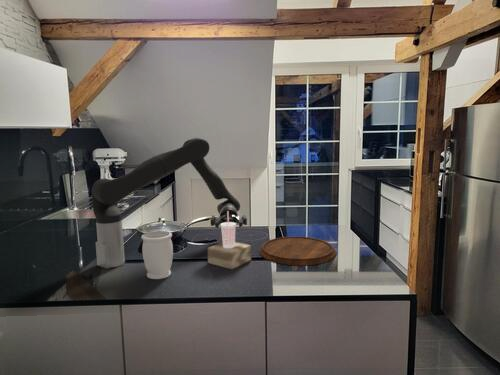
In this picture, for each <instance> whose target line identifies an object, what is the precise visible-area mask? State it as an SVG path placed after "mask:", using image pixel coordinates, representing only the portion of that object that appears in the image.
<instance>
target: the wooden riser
mask: <svg viewBox="0 0 500 375" xmlns="http://www.w3.org/2000/svg"><path fill="white" fill-rule="evenodd" d="M250 261H252V245H251V244H247V243H242V242H238V241H237V242H236V241H235V247H233V248H224V247H223V241H222V242H219V243H216V244H215V245H212V246H208V247H207V263H208V264H211V265H215V266H217V267H218V266H219V267H221V268H222V267H223V268H226V269H230V270H234V269H235V268H238V267H240V266H242V265H243V264H246V263H247V262H248V263H249V262H250Z"/></svg>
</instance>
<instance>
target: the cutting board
mask: <svg viewBox="0 0 500 375" xmlns="http://www.w3.org/2000/svg"><path fill="white" fill-rule="evenodd" d="M258 253H259V255H260V256H261V258H263V259H265V260H267V261H270V262H272V263H276V264H280V265H286V266H287V265H288V266H313V265H316V266H317V265H320V264H325V263H327V262H330V261H333V260H334V259H335V258H336V257H337V249H335V247H334V246H333V245H332V244H331V243H330V242H327V241H326V240H322V239H320V238H315V237H307V236H281V237H276V238H273V239H269V240H267V241H265V242H263V244H262V245H261V246H260V247H259V250H258Z"/></svg>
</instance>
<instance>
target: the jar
mask: <svg viewBox="0 0 500 375" xmlns="http://www.w3.org/2000/svg"><path fill="white" fill-rule="evenodd" d="M172 237H173V233H172V232H171V231H167V230H156V231H155V230H154V231H150V232H145V233H143V234H142V235H141V240H142V241H143V242H142V248H141V249H142V258H143V261H144V262H143V263H144V267H145V269H146V271H147V273H146V277H147V278H148V279H152V280H162V279H165V278H167V277H170V276H171V274H172V271H171V267H172V264H173V258H174V247H173V241H172Z"/></svg>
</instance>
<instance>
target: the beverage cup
mask: <svg viewBox="0 0 500 375" xmlns="http://www.w3.org/2000/svg"><path fill="white" fill-rule="evenodd" d="M227 219H228V222H224V223H221V224H220V225H221V226H220V228H221V230H220V231H221V239H222V242H223V247H224V248H233V247H235V242H236V227H237V226H236V223H234V222H229V211H227Z"/></svg>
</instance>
